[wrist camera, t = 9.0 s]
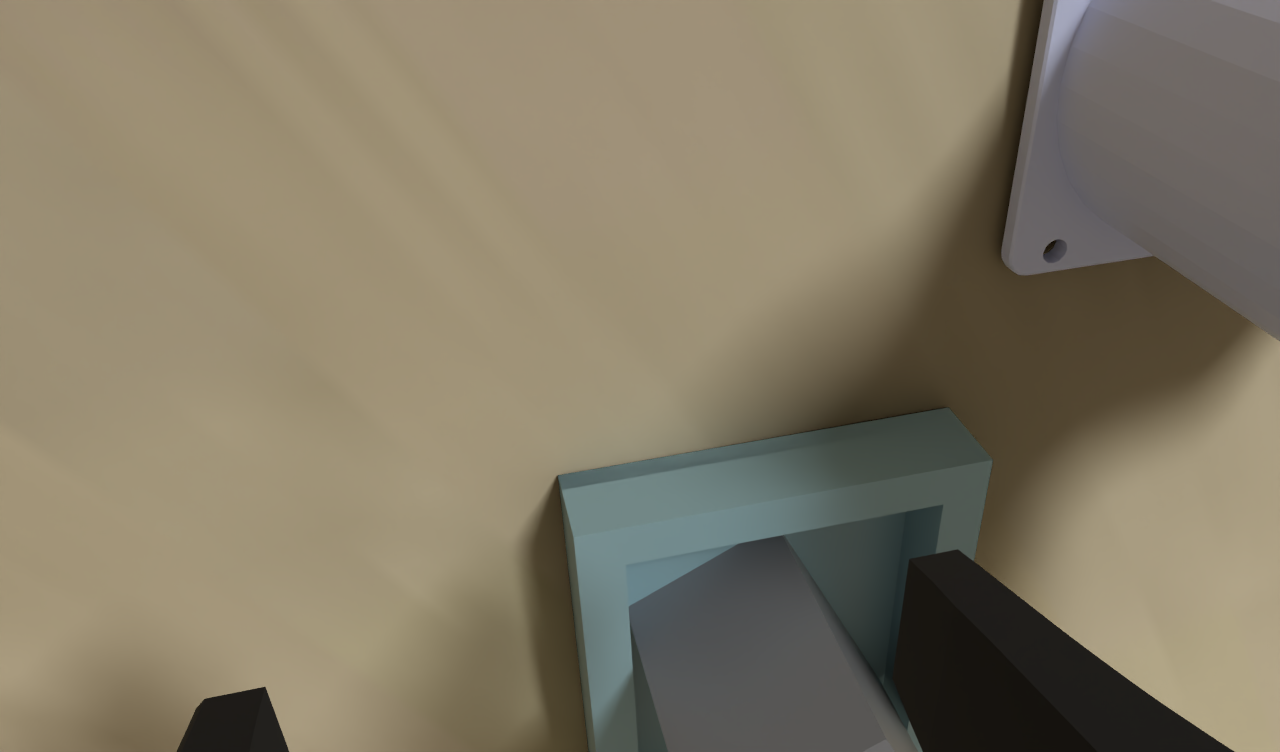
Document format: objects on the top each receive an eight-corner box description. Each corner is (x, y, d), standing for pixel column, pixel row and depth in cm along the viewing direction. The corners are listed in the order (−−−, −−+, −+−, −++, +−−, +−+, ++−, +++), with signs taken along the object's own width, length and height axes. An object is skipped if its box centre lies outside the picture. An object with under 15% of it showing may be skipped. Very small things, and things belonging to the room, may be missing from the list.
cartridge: (775, 522, 23) (886, 738, 18) (880, 681, 27) (994, 893, 22) (625, 607, 24) (694, 841, 19) (751, 752, 28) (834, 975, 23)
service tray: (948, 407, 23) (992, 459, 22) (897, 745, 30) (928, 804, 28) (557, 475, 22) (574, 537, 20) (595, 814, 28) (609, 881, 27)
